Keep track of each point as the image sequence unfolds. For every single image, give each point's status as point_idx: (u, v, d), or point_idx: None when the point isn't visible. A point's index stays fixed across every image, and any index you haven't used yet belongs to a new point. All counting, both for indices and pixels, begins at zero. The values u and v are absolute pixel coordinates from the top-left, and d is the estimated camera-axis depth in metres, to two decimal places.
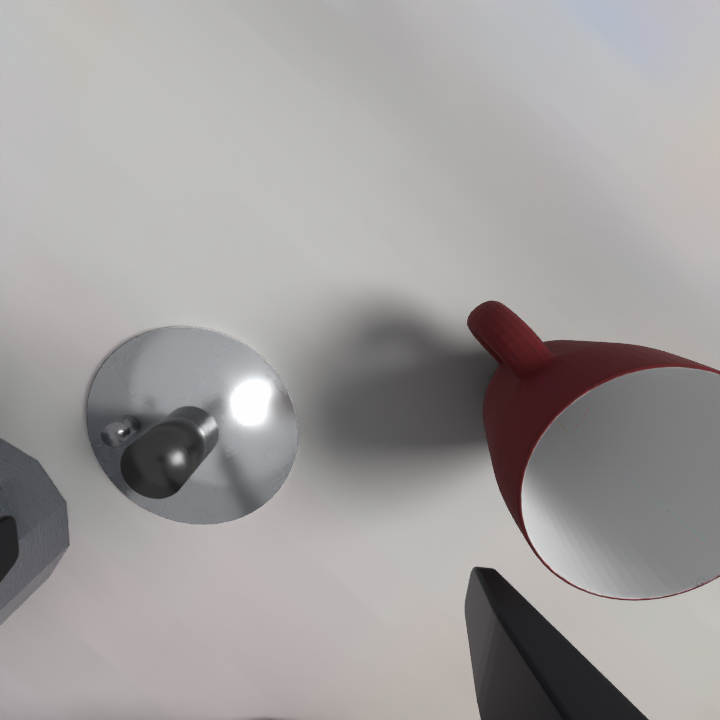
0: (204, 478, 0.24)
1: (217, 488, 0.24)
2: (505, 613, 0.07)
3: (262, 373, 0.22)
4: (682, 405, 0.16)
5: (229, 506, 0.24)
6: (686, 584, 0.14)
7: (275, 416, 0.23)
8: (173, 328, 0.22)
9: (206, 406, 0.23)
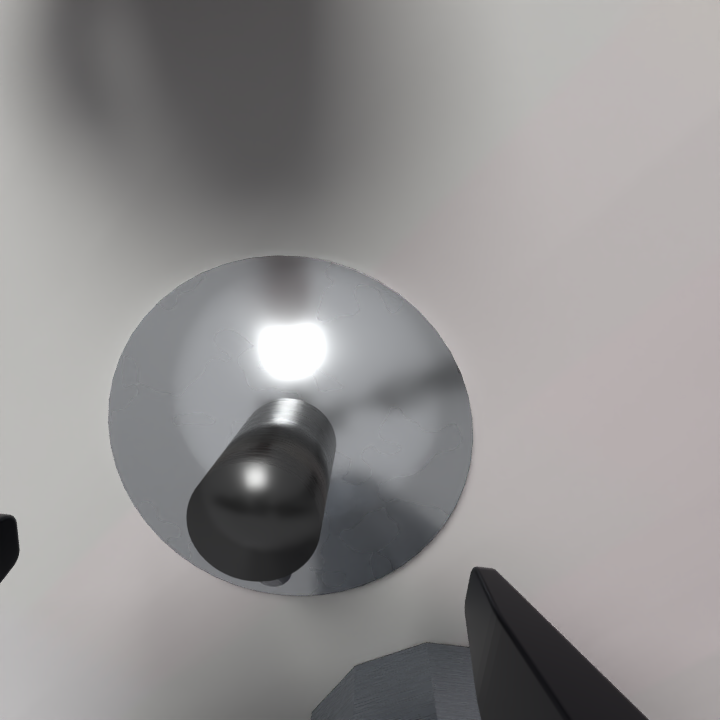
0: (378, 430, 0.13)
1: (398, 410, 0.13)
2: (505, 613, 0.07)
3: (172, 313, 0.13)
4: None
5: (436, 392, 0.13)
6: None
7: (251, 294, 0.12)
8: (114, 451, 0.14)
9: (241, 414, 0.13)
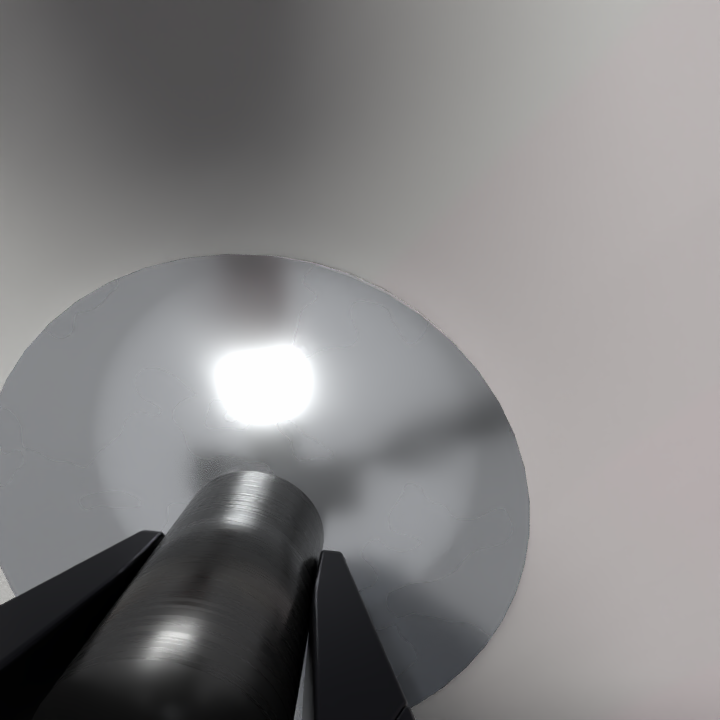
0: (387, 518, 0.09)
1: (418, 489, 0.09)
2: (321, 592, 0.07)
3: (67, 344, 0.08)
4: None
5: (476, 463, 0.08)
6: None
7: (189, 315, 0.08)
8: None
9: (180, 493, 0.09)
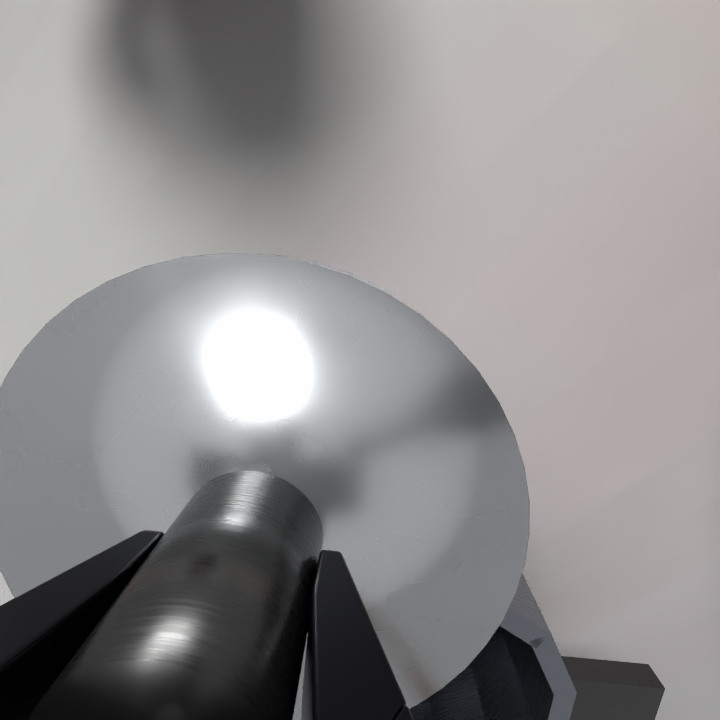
0: (386, 518, 0.09)
1: (417, 489, 0.09)
2: (320, 592, 0.07)
3: (65, 344, 0.08)
4: None
5: (476, 463, 0.08)
6: None
7: (187, 315, 0.08)
8: None
9: (178, 493, 0.09)
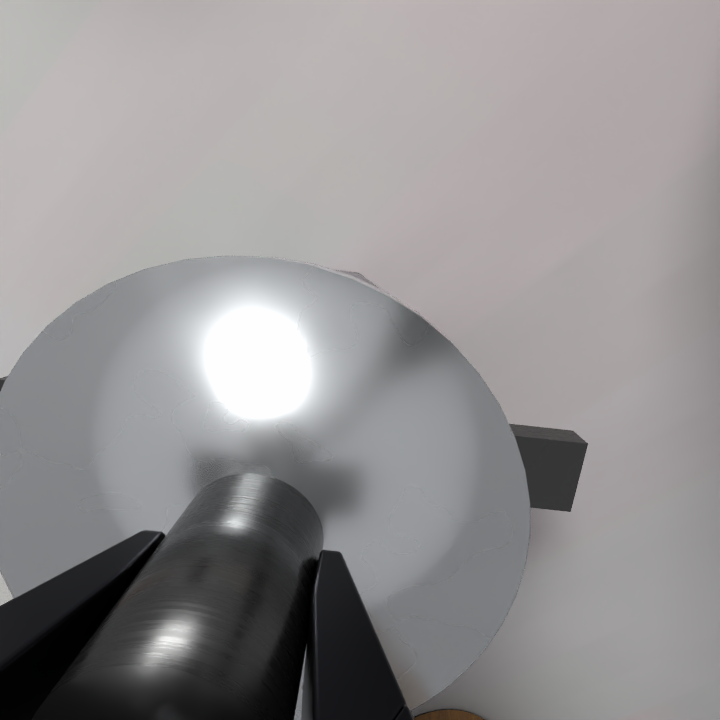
0: (387, 520, 0.09)
1: (418, 491, 0.09)
2: (320, 593, 0.07)
3: (66, 346, 0.08)
4: None
5: (476, 465, 0.08)
6: None
7: (188, 317, 0.08)
8: None
9: (179, 495, 0.09)
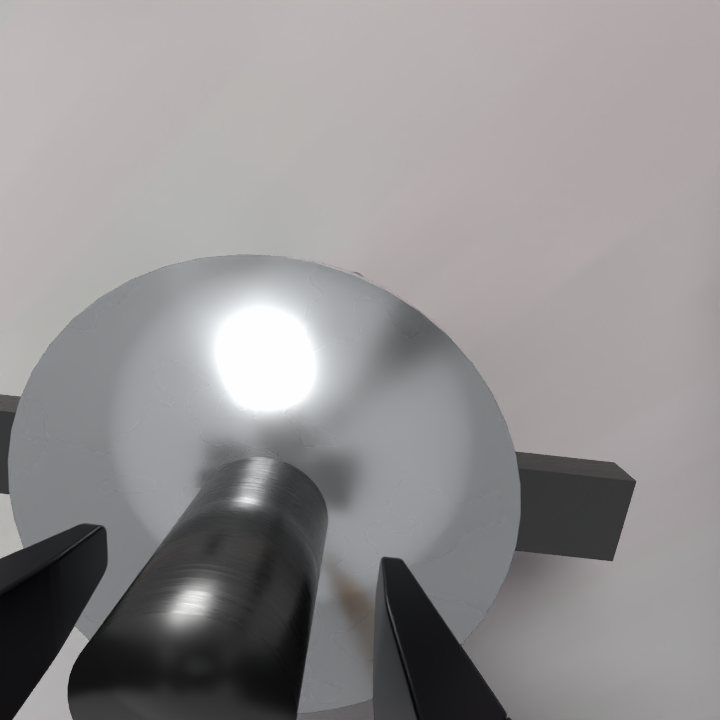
0: (387, 501, 0.09)
1: (416, 474, 0.09)
2: (394, 601, 0.07)
3: (90, 338, 0.09)
4: None
5: (470, 449, 0.09)
6: None
7: (203, 311, 0.09)
8: (19, 527, 0.10)
9: (193, 478, 0.09)
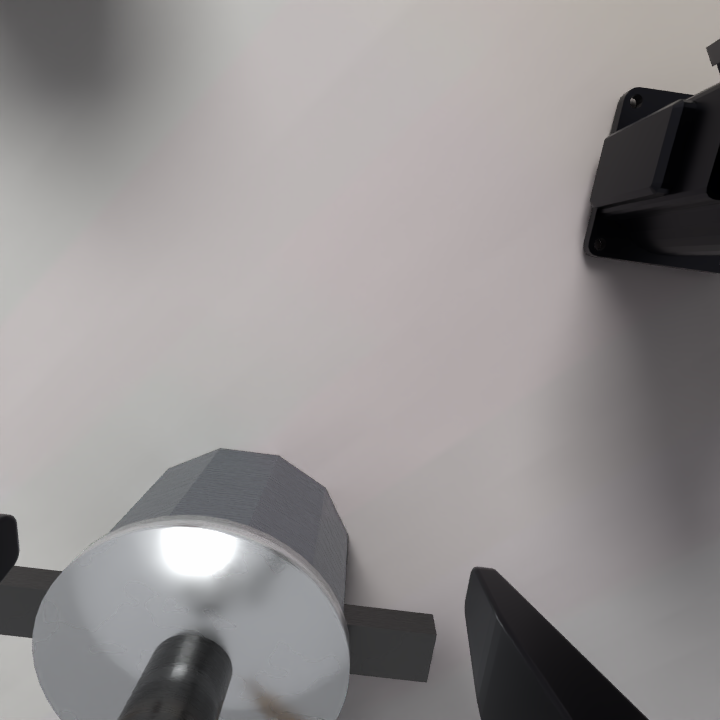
0: (268, 659, 0.15)
1: (285, 645, 0.15)
2: (505, 613, 0.07)
3: (86, 569, 0.15)
4: None
5: (316, 632, 0.15)
6: None
7: (155, 556, 0.14)
8: (37, 671, 0.16)
9: (148, 645, 0.15)
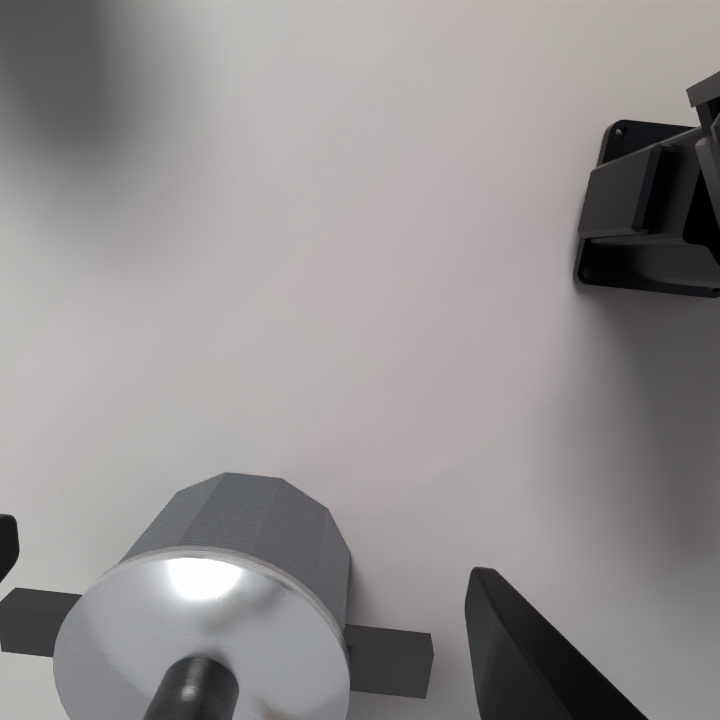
0: (272, 680, 0.16)
1: (288, 666, 0.16)
2: (505, 613, 0.07)
3: (101, 597, 0.16)
4: None
5: (317, 655, 0.16)
6: None
7: (163, 586, 0.15)
8: (59, 690, 0.17)
9: (160, 667, 0.16)
